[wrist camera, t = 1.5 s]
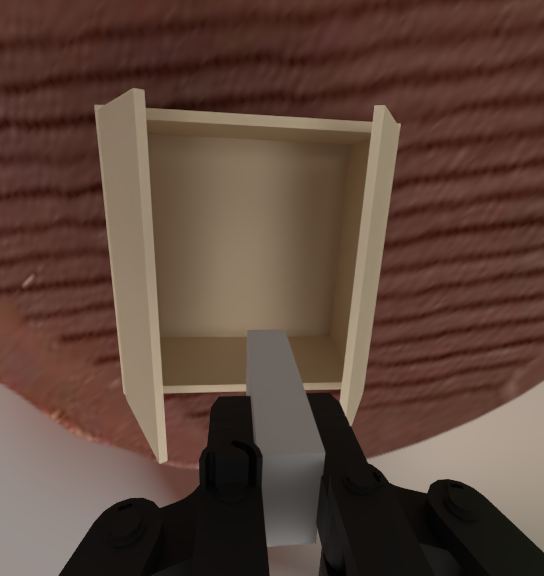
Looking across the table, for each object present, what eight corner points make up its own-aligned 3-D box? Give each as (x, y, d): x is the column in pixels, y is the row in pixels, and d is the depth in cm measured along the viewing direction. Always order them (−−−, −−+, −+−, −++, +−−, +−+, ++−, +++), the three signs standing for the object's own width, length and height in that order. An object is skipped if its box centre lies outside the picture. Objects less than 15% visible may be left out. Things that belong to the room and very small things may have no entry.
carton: (135, 125, 32) (94, 104, 23) (355, 137, 34) (400, 123, 25) (151, 342, 39) (123, 396, 29) (334, 341, 41) (363, 390, 32)
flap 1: (97, 109, 22) (133, 87, 16) (105, 111, 22) (144, 89, 16) (126, 398, 28) (159, 463, 22) (132, 396, 28) (167, 460, 22)
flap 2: (392, 128, 24) (374, 105, 17) (399, 128, 24) (385, 105, 17) (357, 391, 30) (333, 453, 23) (363, 392, 30) (341, 455, 23)
